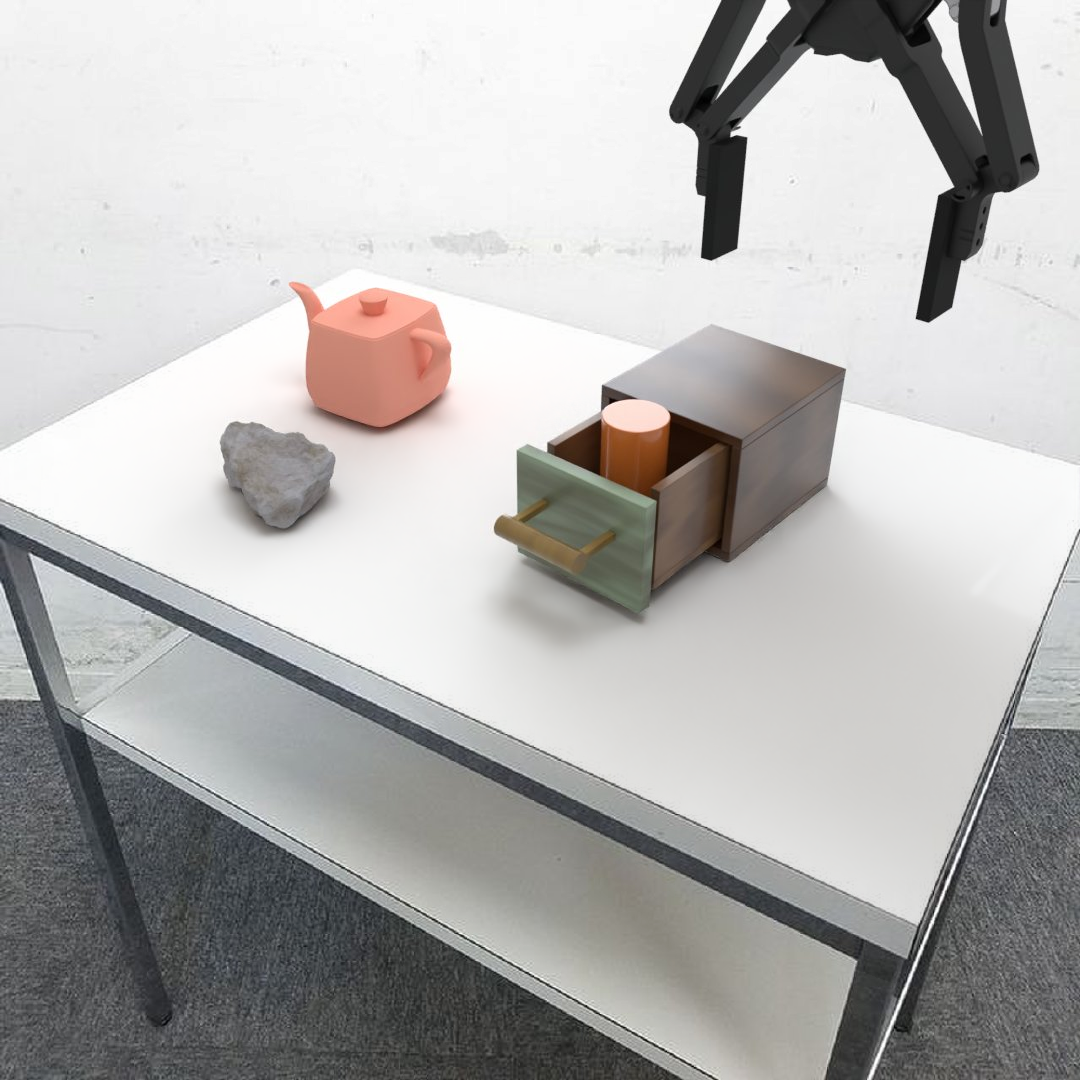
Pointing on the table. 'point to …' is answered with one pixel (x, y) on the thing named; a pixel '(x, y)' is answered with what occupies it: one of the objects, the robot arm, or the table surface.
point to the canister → (634, 444)
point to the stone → (276, 470)
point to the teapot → (374, 354)
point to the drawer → (617, 512)
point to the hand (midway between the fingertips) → (820, 282)
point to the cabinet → (747, 420)
